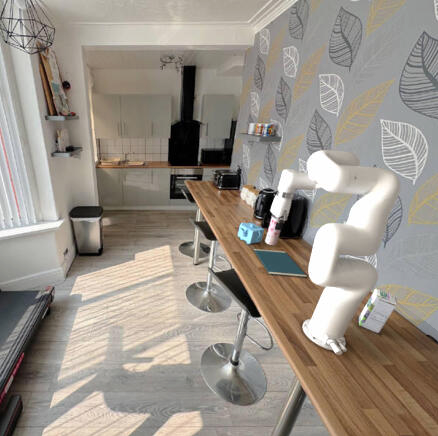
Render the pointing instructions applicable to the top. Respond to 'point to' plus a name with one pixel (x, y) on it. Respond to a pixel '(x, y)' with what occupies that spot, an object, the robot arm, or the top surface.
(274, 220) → the beverage can
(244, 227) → the light blue box
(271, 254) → the teal book
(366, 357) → the top surface
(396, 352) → the top surface
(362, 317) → the syrup box
